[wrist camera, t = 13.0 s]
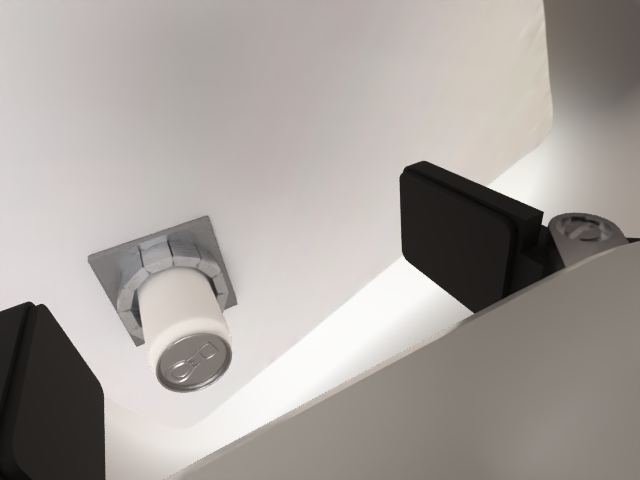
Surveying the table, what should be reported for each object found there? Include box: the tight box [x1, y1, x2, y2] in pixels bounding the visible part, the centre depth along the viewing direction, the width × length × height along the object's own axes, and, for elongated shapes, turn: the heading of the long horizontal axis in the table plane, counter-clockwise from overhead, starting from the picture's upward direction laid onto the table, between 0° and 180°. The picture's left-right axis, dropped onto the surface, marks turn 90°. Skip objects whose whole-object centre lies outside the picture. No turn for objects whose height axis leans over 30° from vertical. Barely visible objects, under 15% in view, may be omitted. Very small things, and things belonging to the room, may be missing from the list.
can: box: [137, 266, 232, 393], centre depth 35 cm, size 6×6×12 cm
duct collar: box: [88, 216, 237, 347], centre depth 39 cm, size 11×11×4 cm
